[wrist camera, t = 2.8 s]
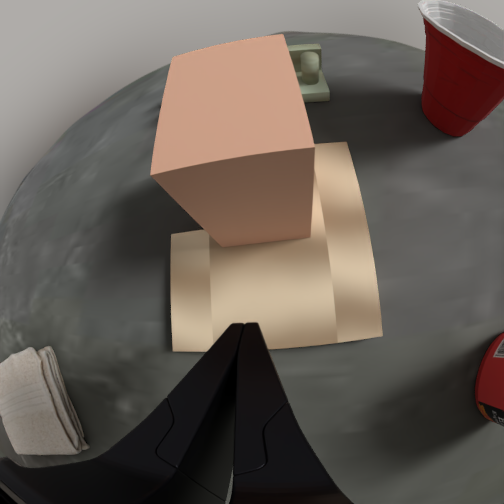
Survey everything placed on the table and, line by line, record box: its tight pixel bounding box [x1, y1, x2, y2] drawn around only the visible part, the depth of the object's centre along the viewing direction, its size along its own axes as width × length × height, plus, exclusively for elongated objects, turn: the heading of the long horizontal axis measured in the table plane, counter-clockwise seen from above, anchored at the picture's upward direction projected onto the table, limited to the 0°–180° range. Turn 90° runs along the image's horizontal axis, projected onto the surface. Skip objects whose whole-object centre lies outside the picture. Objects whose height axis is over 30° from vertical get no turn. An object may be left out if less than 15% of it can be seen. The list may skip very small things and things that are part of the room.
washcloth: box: [0, 346, 90, 456], centre depth 19 cm, size 12×18×3 cm, turn 117°
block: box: [150, 34, 315, 247], centre depth 15 cm, size 8×6×10 cm
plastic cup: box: [417, 0, 504, 136], centre depth 14 cm, size 11×11×12 cm
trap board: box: [171, 44, 383, 352], centre depth 19 cm, size 25×14×4 cm, turn 4°
